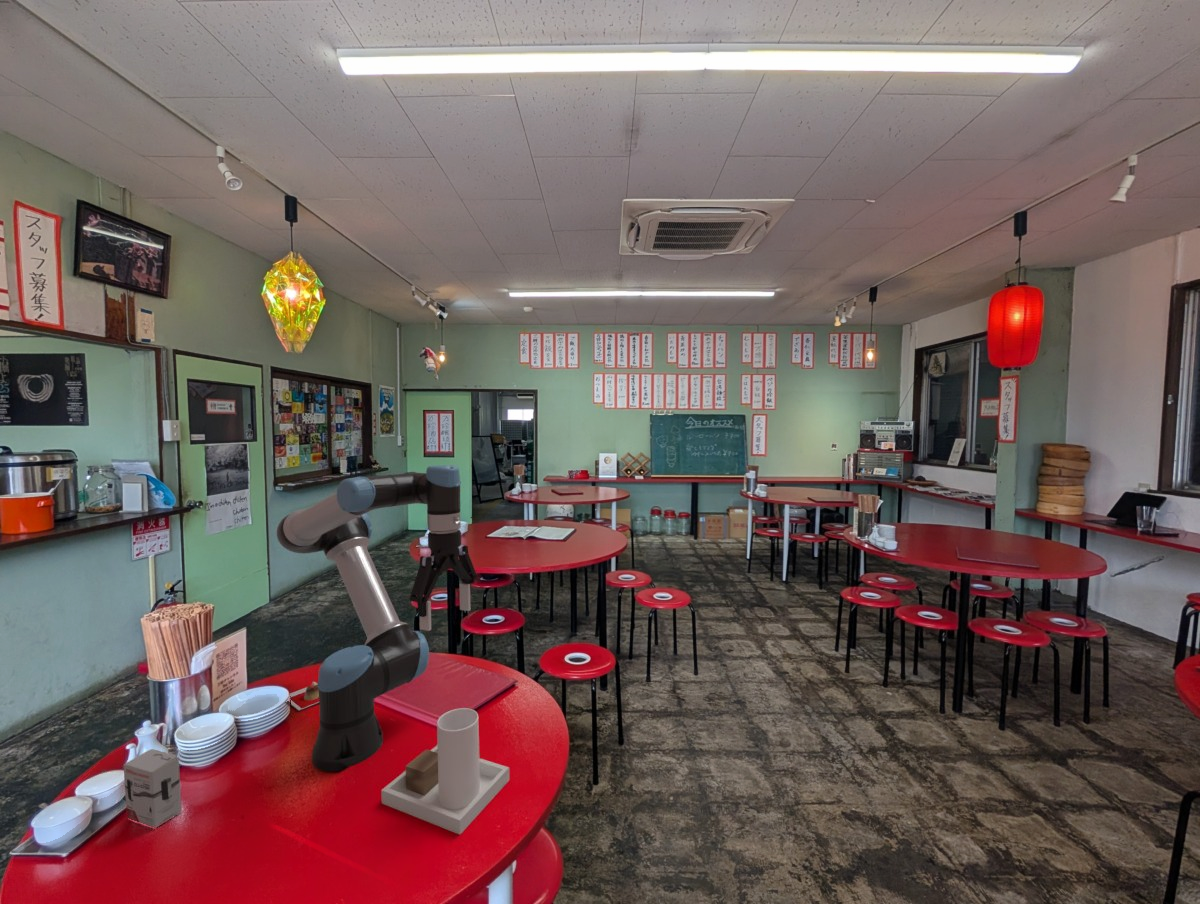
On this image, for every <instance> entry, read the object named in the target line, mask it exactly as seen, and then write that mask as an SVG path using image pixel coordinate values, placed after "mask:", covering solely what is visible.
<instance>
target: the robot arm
mask: <svg viewBox="0 0 1200 904" xmlns="http://www.w3.org/2000/svg"><path fill="white" fill-rule="evenodd" d="M461 482H462V481H461V477H460V469H459V467H458V466H457V465H454V464H450V465H448V464H447V465H444V464H443V465H442V464H438V465H430V466H427V468H426V472H416V471H405V472H401V473H398V474H397V473H395V474H384V475H371V476H368V475H367V476H360V475H359V476H355V477H349V478H345V479H343V480H342V481H340V483H339V485H338V486H337V490H336V492H334V493H333V494H331V495H329V496H327V497H325V498H324V499H322V500H320V501H318V502H317V503H314V504H313V505H311V506H310V507H308V508H306V509H297V510H295V511H293V512H291V513H289V514H287V515H286V516H284V517H283V518H282V519H281V520H280V522H279V523H278V525H277V529H276V538H277V541H278V542H279V544H280V545H281V546H282V547H283V548H284V549H286V550H288V551H289V552H292V553H295V554H312V553H318V552H323V553H324V555H325V558H326V559H327V560H328V561H330V562H334V563H335V565H336V567H337V569H338V573H339V574H340V577H341V579H342V581H343V583H344V587H345V589H346V591H347V593H348V595H349V598H350V600H351V602H352V604H353V608H354V610H355V612H356V614H357V617H358V619H359V621H360V624H361V627H362V629H363V631H364V633H365V635H366V637H367V639H366V640H365V643H364V644H359V645H353V646H348V647H345V648H342V649H339V650H337V651H334V652H333V653H332V654H330V655H329V656H328V657H326V658H325V659H324V660H323V661H322V663H321V665H320V666H319V669H318V678H317V683H318V688H319V698H318V702H319V703H318V704H319V705H318V708H319V711H318V714H319V728H318V731H317V735H316V738H315V739H316V740H315V743H314V745H313V747H312V752H311V761H312V766H313V767H314V768H315V769H317V770H319V771H322V772H328V773H329V772H341V771H346V769H348V768H349V767H351V766H355V765H357V764H360V763H362V762H364V761H365V760H368V759H369V758H370V757H372V756H374V754H376V753H377V752H378V751H379V750H380V749H381V748H382V745H383V743H384V737H383V736H384V735H383V730H382V727H381V725H380V723H379V720H378V718H377V716H376V714H375V699H376V698H378V697H380V696H382V695H384V694H386V693H388V692H390V691H393V690H394V689H397V688H399V687H400V686H403V685H405V684H408V683H411V682H412V681H413V680H415V679H417V678H418V677H420V676H421V675H423V674H424V673H425V672H426V670H427V667H428V665H429V659H430V647H429V644H428V641H427V638H426V637H425V635H424V634H423V633H421V631H419V630H423V631H428V632H430V631H431V630H432V602H431V600H429V598H430V597H431V594H432V593H433V590H434V588H435V586H436V583H438V580H439V578H440V576H441V575H443V573H444V572H447V571H448V570H452V571H453V573H455V574H456V576H457V577H458V579H459V580H460V581H461V583H459V610H460V611H467V612H470V611H471V606H472V605H471V596H472V595H471V594H472V585H473V584H475V581H476V580H477V577H478V576H477V572H476V570H475V569H476V568H475V567H474V565H473V562H472V559H471V557H470V555H469V548H468V547H469V546H468V545H465V544H464V545H463V544H462V531H461V530H460V529H461V527H462V526H461ZM412 504H413V505H414V504H421V505H422V504H423V505H427V506H426V508H427V509H426V513H427V514H426V515H427V517H426V518H427V531H428V533H427V547H428V549H429V550H430V556H424V555H422V556H420V557H419V565H418V566H419V567H418V570H417V573H416V576H415V580H414V582H413V586H412V590H411V593H410V596H409V601H410V602H414V603H417V616H418V617H419V630H411V627H410V626H409V624H408V623H407V622H405V621H401V620H400V618H399V616H398V614H397V612H396V610H395V607H394V605H393V602H392V600H391V599H390V597H389V594H388V592H387V590H386V587H385V586H384V583H383V581H382V579H381V577H380V575H379V573H378V570H377V568H376V566H375V564H374V561H373V559H372V557H371V555H370V553H369V550H368V546H369V544H370V538H371V536H372V533H373V528H372V527H371V526H372V521H371V519H370V517H369V515H368V513H370V512H371V511H374V510H378V509H384V508H392V507H398V506H399V507H400V506H406V505H412Z"/></svg>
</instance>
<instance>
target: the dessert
mask: <svg viewBox="0 0 1200 904" xmlns="http://www.w3.org/2000/svg"><path fill="white" fill-rule="evenodd" d="M303 693H304V697H303V700H304V701H314V700H316V699H319V688H318V682H316V681H312V683H311V684H310V685H309V686H306V687H304V688H301V689H299V690H296V691H293V692H290V693H289V694H290V696H291V697H290V698H292V697H296V696H297V695H301V694H303ZM290 700H291V699H290ZM317 704H319V701H318V702H315V703H313V704H310V705H307V706H305V707H303V708H301V707H300V706H299V705H298V704H296V703H295V702H294V701H293V700H291V704H290V705H291V706H292V707H293V708H295V709H296V710H297V711H303V710H305V709H307V708H311V707H312V706H315V705H317Z"/></svg>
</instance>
